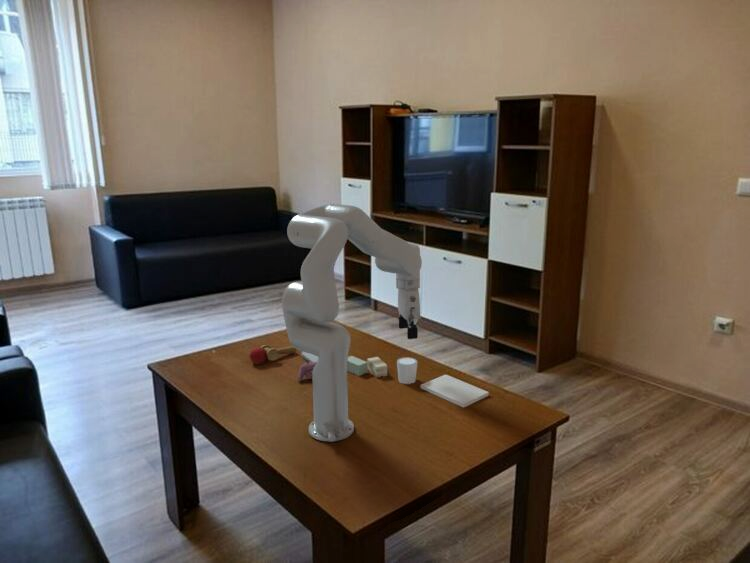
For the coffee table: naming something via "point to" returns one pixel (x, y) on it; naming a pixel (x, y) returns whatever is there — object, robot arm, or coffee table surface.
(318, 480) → the coffee table surface
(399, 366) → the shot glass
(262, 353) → the kendama
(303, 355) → the game console
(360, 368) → the sage block
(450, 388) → the ceramic tile
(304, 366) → the video game controller
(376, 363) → the birch block
